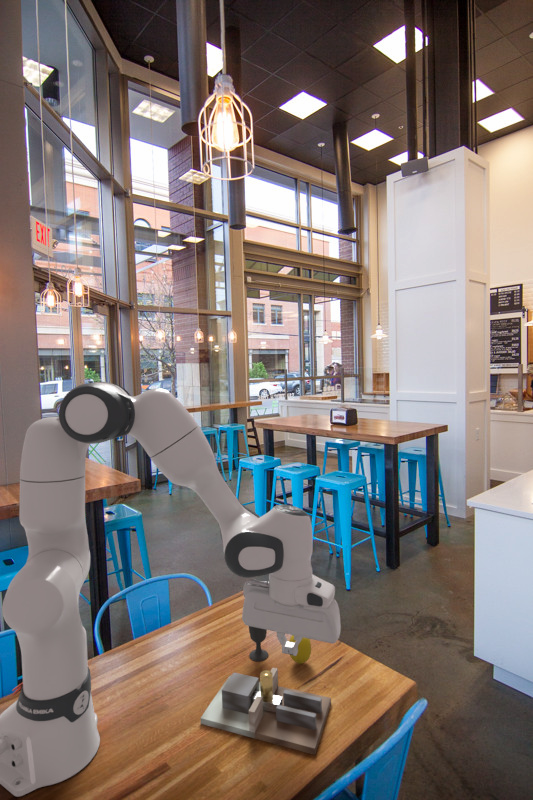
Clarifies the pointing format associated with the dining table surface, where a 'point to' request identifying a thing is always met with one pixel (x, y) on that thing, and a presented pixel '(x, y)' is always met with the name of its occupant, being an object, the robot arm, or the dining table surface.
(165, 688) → the dining table surface
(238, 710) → the lock board
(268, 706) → the bolt
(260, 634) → the sundae
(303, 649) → the lemon
